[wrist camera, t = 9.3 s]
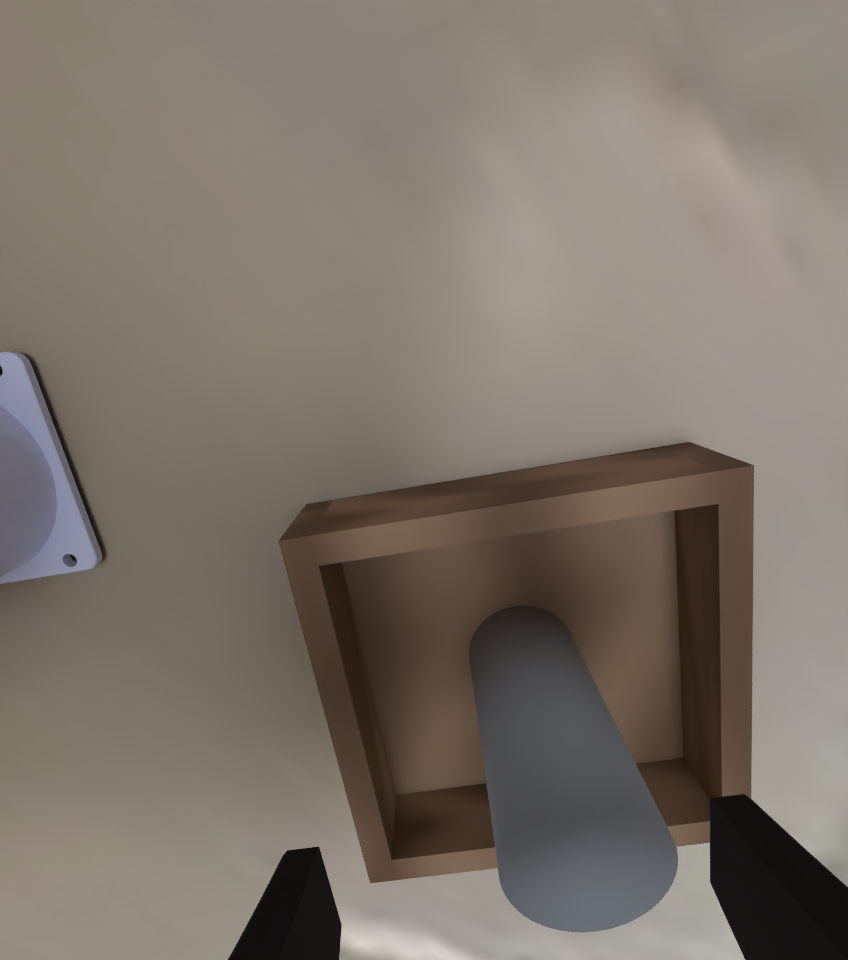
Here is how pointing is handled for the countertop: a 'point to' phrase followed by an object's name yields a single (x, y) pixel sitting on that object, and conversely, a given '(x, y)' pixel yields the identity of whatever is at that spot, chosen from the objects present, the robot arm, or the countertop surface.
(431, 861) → the open box
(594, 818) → the peg
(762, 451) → the countertop surface
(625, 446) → the countertop surface
